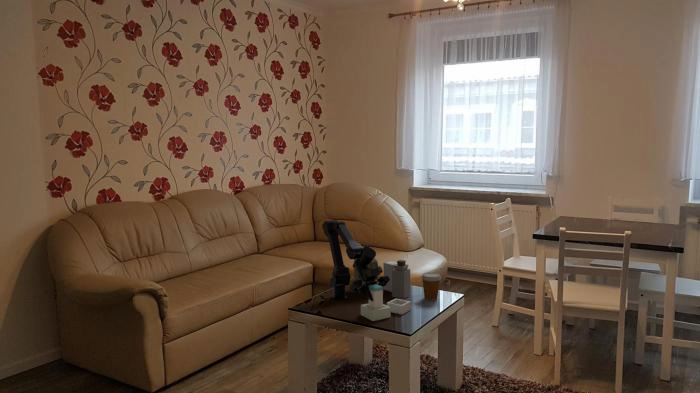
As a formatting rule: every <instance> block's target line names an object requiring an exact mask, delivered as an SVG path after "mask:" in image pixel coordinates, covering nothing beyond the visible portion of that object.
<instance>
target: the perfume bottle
mask: <svg viewBox="0 0 700 393" xmlns="http://www.w3.org/2000/svg"><path fill="white" fill-rule="evenodd" d="M396 262H397V264H396V265H394V267H395V269H393V270H392V292H391V297H393V298H397V299H402V300H405V299H406V298H408V297H409V296H411V268H409V264H406V263H407V262H406V260H404V259H398V260H397V261H396Z"/></svg>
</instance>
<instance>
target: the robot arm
mask: <svg viewBox="0 0 700 393" xmlns="http://www.w3.org/2000/svg"><path fill="white" fill-rule="evenodd" d="M321 227H322V228H321V229H322V230H323V234H324V236H326V238H327V239H328V242H329V243H328V244H329V248H330V252H331V257H332V262H333V263H332V264H333V269H332V274H331V275H332V277H331V278H330V280H329V282H328V283H329V286H330V287H332V288H333V294H331V297H332V298H333V299H334V300H336V301H337V300H346V299H349V298H348V296H347V295H346V286H349V290H350V293H355V292H358V293H360V294H362V295H363V296H365V297H366V298H367V299H368V301H369V300H371V301H373V297H372V295H371V293H370V290H369V286H370V285H376V284H377V285H380V286H382V287H383V288H384V286H386V284H387V283H388V282H389V281H390V279H389V277H388V276H387V275H386V276H384V275H382V276H381V274H383V273H384V269H383V268H382V266H381V265H378V266H377V267H376V268H374V269H372V268H369V265H368V264H370V263H371V262H372V260H373V259H374V258H375V259H376V256H377V253H376V250H375V249H373V248H372V247H370V246H369V245H368V246H366V245H365V247H364V246H362V245H361V243H360V242H358V241H356V240H355V239H354V237H353V236H352V234H351V232H350V230H349V229H348V227H347V226H346V222H345V221H338V219H334V220H333V219H331V220H324V221H323V223H322V225H321ZM339 237H340V239H341V240H342V242H343V244H344V246H345V248H346V249H345V253H346V254H347V257H348V259H349V260H353V263H352V268H354V267H356V269H357V271H358V274H359V275H358V278H361V280H356V281H355V280H353V281H352V283H351V278H352V277H351V272H350V268H349V266H345V264H344V259H343V258H344V257H343V253H342V249H341V244H340V243H341V242H340V239H339ZM354 259H357V260H356V261H354ZM377 276H378V280H375V279H376V278H377ZM350 283H351V284H350Z"/></svg>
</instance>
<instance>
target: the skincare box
mask: <svg viewBox="0 0 700 393" xmlns="http://www.w3.org/2000/svg"><path fill="white" fill-rule="evenodd" d="M396 264H397V261H394V260H390V261H384V262H383V276H386V275H387V276H388V277H389V279H390V281H389V282H388V283H387V284H386V286H384V287H383V291H388V292H391V293H392V270H393V269H395V267H394V265H396Z"/></svg>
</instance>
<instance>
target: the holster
mask: <svg viewBox="0 0 700 393" xmlns="http://www.w3.org/2000/svg"><path fill="white" fill-rule="evenodd" d="M386 305H387V306H389V307H391V313H393V314H397V313H398V315H402V314H403V315H404V314H406V313H408V312H409V311H411V310H412V301H410V300H406V299H402V298H398V297H395V298H394V299H392V300H389V301H388V302H386Z"/></svg>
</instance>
